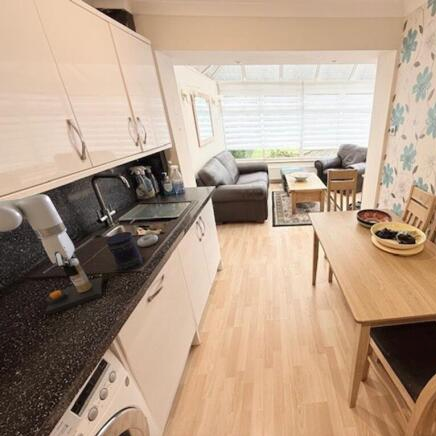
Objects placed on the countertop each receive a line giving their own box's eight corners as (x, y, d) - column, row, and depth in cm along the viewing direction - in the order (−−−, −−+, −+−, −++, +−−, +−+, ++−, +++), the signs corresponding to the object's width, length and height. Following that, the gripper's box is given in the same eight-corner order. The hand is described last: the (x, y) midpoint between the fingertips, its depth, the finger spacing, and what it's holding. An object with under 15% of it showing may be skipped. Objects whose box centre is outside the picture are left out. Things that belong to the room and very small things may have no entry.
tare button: (50, 300, 89) (48, 297, 88) (52, 295, 91) (50, 292, 90) (60, 296, 90) (58, 293, 89) (62, 292, 92) (60, 289, 92)
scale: (46, 316, 86) (41, 308, 84) (55, 296, 95) (50, 289, 94) (101, 296, 93) (97, 289, 91) (104, 280, 102) (101, 273, 101)
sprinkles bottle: (75, 294, 92) (58, 265, 86) (82, 286, 96) (66, 258, 90) (88, 291, 93) (72, 263, 87) (94, 284, 97) (79, 256, 91)
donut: (137, 242, 131) (138, 250, 123) (135, 237, 129) (136, 244, 122) (157, 236, 135) (159, 243, 128) (155, 231, 134) (157, 238, 126)
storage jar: (113, 270, 108) (99, 242, 102) (130, 258, 117) (118, 231, 110) (132, 271, 106) (119, 243, 100) (147, 259, 115) (137, 232, 108)
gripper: (44, 224, 88) (67, 264, 96) (27, 243, 75) (56, 288, 82) (69, 218, 91) (90, 257, 99) (58, 236, 78) (83, 279, 86)
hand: (74, 271), depth 91 cm, fingers closed on sprinkles bottle, 4 cm apart
